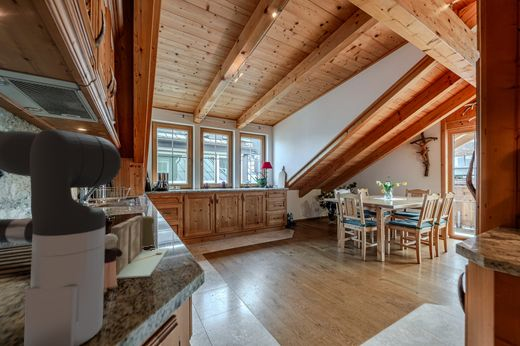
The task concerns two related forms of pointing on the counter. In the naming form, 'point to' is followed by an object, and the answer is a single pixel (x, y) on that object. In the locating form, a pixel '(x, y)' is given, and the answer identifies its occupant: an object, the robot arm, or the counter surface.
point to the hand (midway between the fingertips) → (95, 229)
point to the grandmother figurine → (111, 262)
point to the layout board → (143, 264)
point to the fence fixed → (121, 244)
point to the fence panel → (135, 236)
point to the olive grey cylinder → (147, 231)
